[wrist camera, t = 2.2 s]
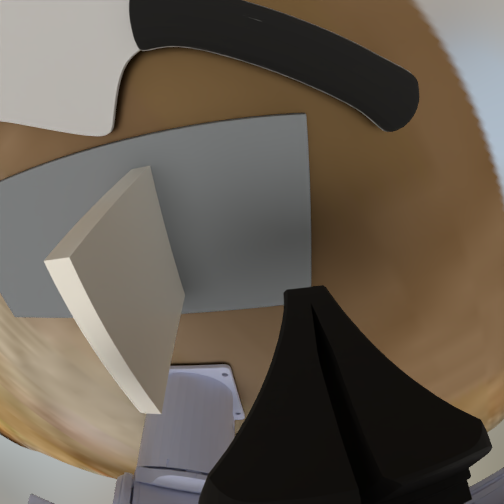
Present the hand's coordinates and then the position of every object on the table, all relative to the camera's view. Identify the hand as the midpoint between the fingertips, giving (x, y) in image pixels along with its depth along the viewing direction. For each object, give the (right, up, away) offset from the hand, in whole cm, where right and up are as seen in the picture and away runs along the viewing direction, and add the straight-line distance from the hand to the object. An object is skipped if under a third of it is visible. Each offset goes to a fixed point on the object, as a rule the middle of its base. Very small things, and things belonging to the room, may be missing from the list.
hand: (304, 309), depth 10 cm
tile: (-7, +3, +6) cm, 9 cm away
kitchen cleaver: (-10, +12, 0) cm, 16 cm away
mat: (-11, +3, +6) cm, 13 cm away
